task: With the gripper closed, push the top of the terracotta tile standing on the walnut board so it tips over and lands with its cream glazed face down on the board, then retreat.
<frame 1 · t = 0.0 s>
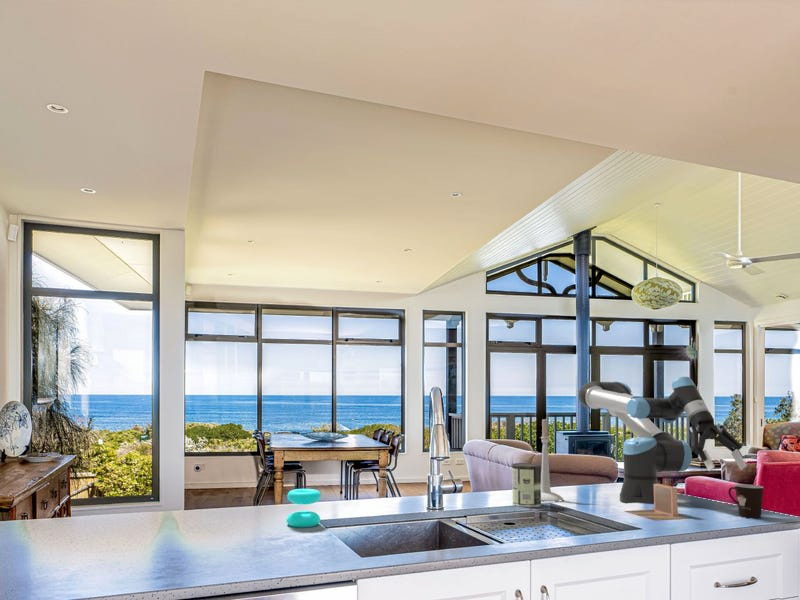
hand: (727, 468, 234), 15 cm above the countertop, tool tilted 35°, fingers open, 13 cm apart
candlestick: (545, 499, 258), on the countertop
board: (656, 517, 226), on the countertop
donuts: (303, 525, 206), on the countertop
tile: (665, 513, 229), point 1 cm above the countertop, touching board
coffee can: (526, 505, 246), on the countertop
coffee mug: (748, 516, 230), on the countertop
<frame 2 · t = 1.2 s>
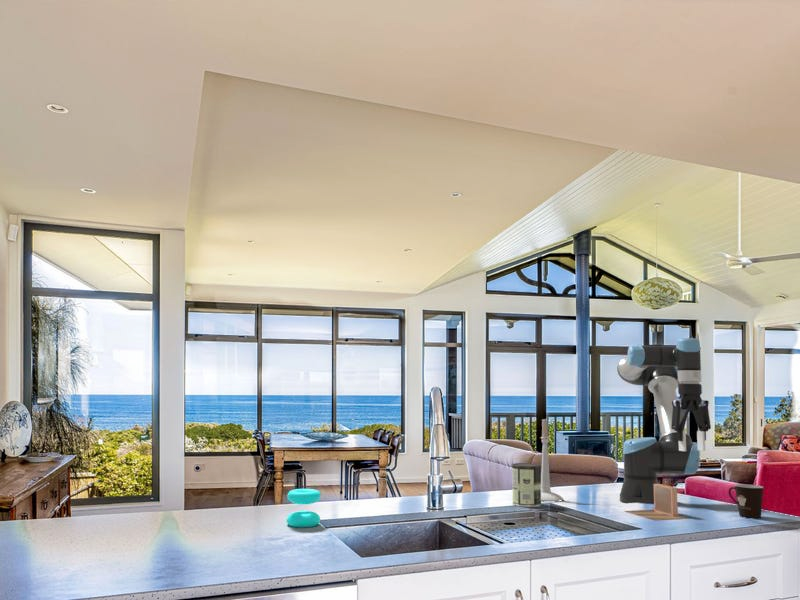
hand: (691, 450, 235), 21 cm above the countertop, tool pointing down, fingers open, 7 cm apart
nothing on the countertop moved.
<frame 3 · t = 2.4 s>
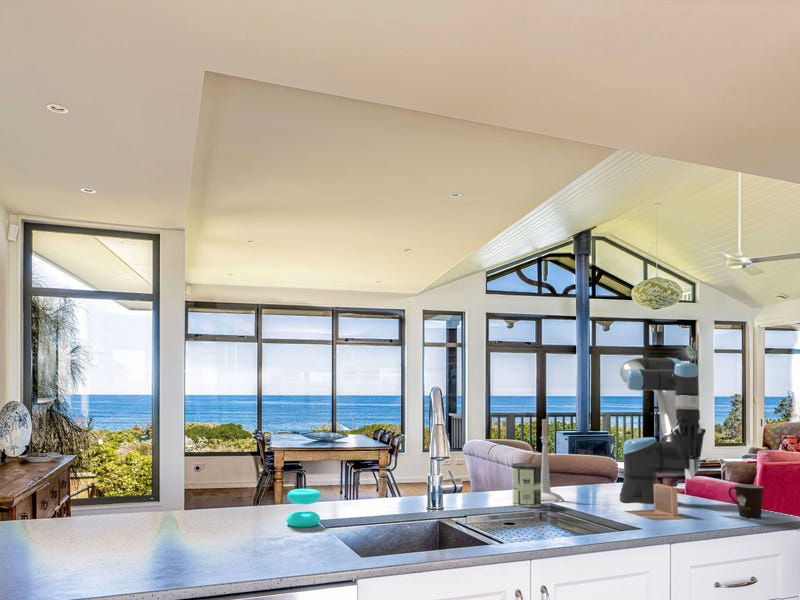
hand: (690, 478, 233), 12 cm above the countertop, tool pointing down, fingers closed
nothing on the countertop moved.
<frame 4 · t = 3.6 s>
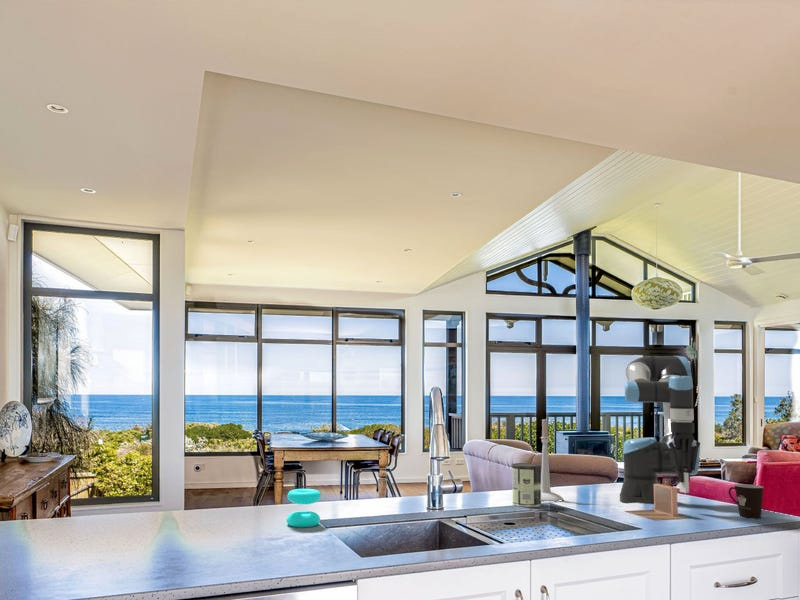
hand: (684, 492, 232), 7 cm above the countertop, tool pointing down, fingers closed
nothing on the countertop moved.
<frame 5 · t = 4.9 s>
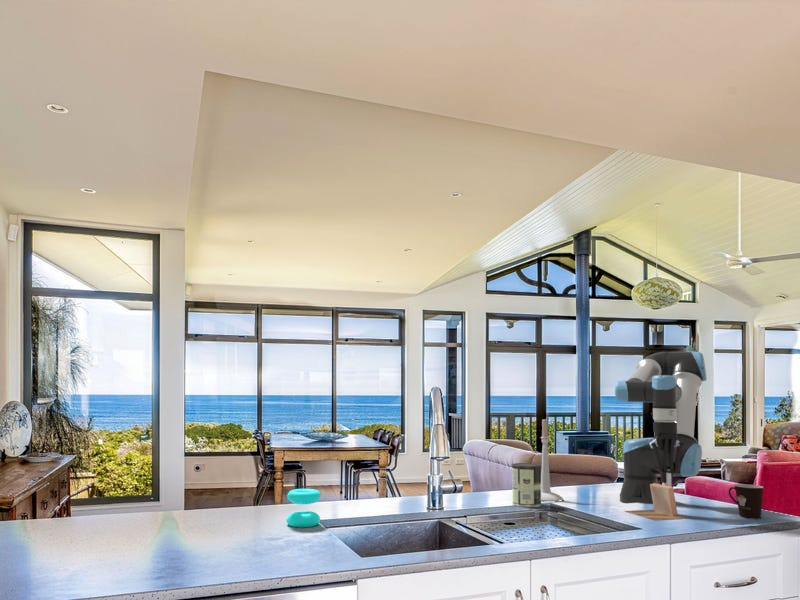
hand: (667, 492, 229), 7 cm above the countertop, tool pointing down, fingers closed
tile: (665, 512, 229), point 1 cm above the countertop, tilted 10°, touching board
everything else where it was.
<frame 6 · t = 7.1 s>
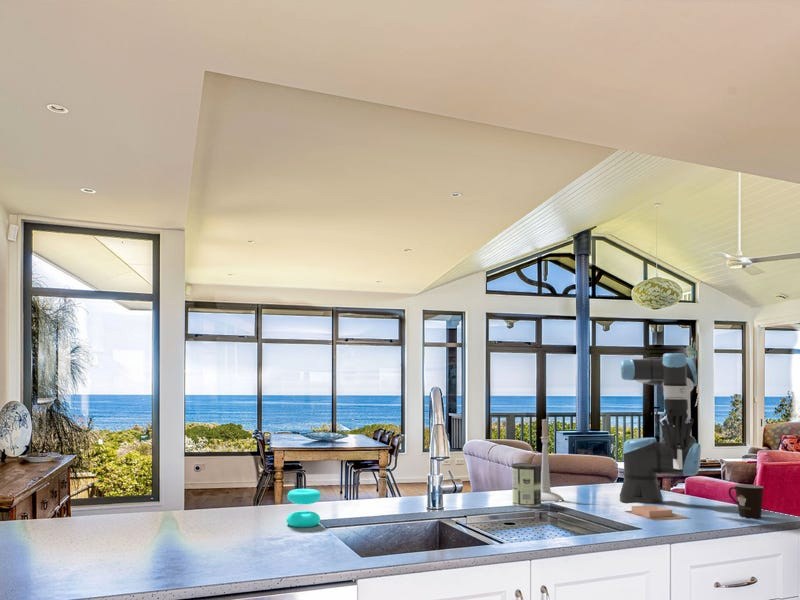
hand: (677, 468, 232), 15 cm above the countertop, tool pointing down, fingers closed
tile: (662, 510, 228), point 2 cm above the countertop, tilted 90°, touching board
everything else where it was.
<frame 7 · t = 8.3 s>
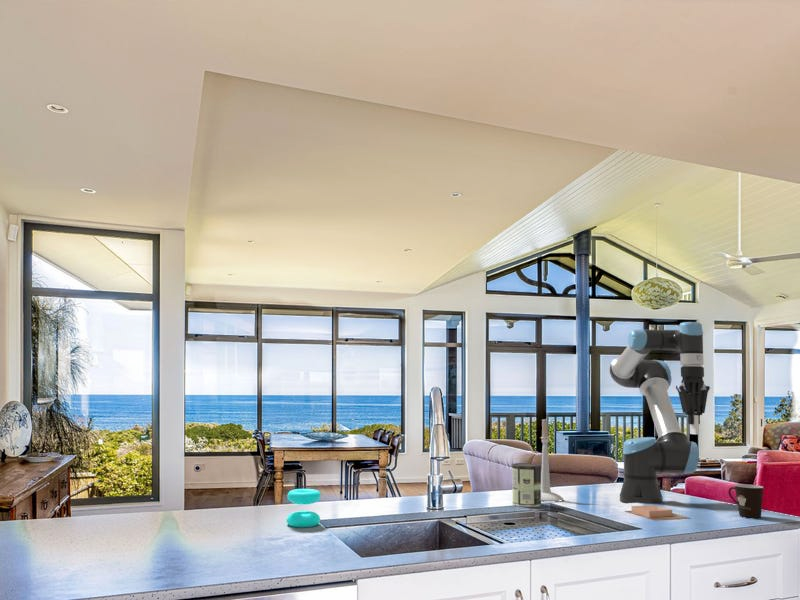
hand: (694, 434, 239), 26 cm above the countertop, tool pointing down, fingers closed
nothing on the countertop moved.
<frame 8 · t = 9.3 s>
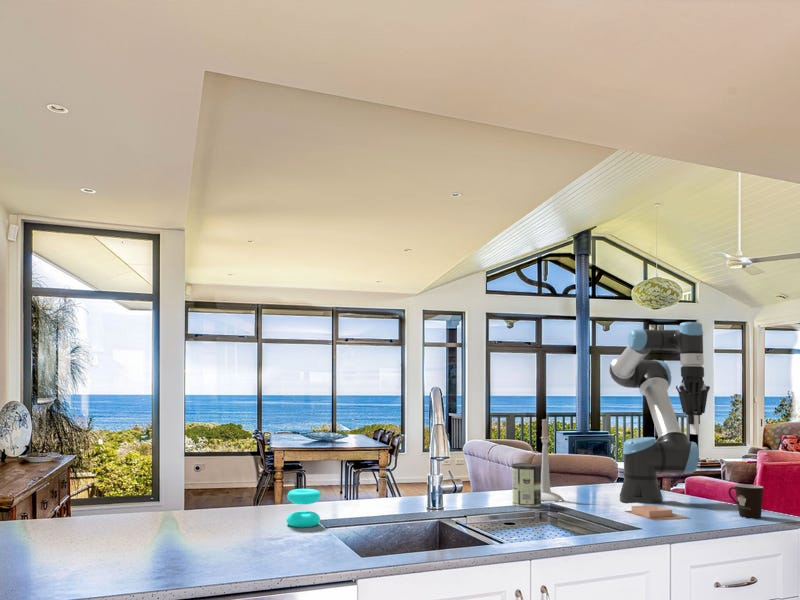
hand: (694, 434, 239), 26 cm above the countertop, tool pointing down, fingers closed
nothing on the countertop moved.
at the end: tile tilted 90°; tile inside the target area on the board (4.0 cm from its centre), point 1.8 cm above the board's base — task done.
